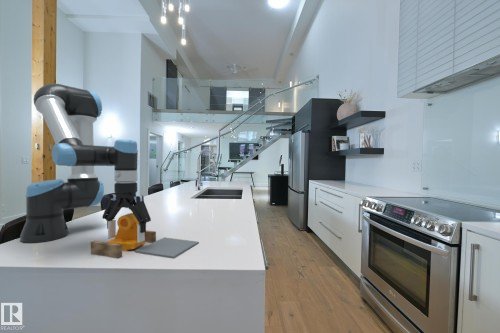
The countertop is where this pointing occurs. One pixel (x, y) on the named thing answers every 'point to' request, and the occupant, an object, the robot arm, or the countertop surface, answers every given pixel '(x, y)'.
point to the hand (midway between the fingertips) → (126, 239)
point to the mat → (167, 247)
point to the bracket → (127, 232)
